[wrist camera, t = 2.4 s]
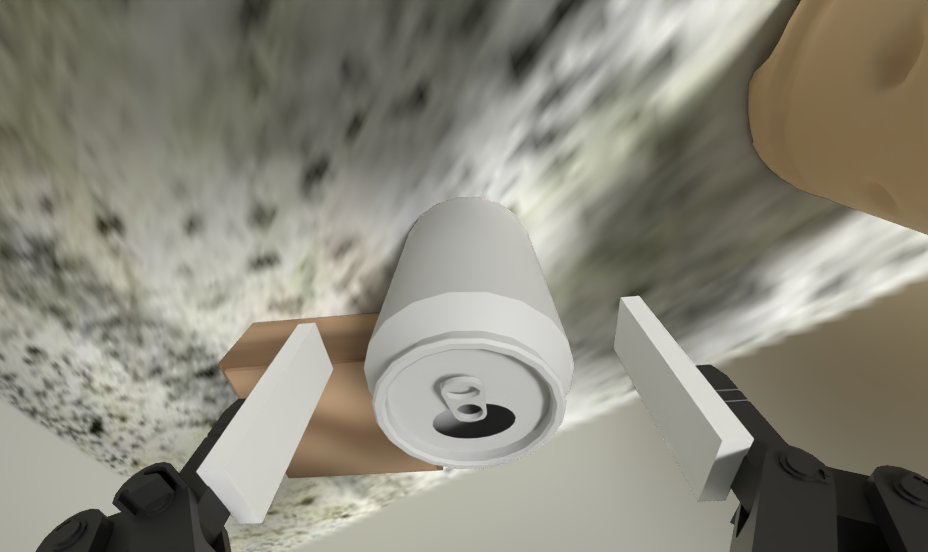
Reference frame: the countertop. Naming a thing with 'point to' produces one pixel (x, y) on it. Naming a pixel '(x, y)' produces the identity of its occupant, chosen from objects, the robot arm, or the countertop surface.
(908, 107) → the container
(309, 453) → the tan cardboard box
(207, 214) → the countertop surface
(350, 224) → the countertop surface
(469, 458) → the can
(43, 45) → the countertop surface
